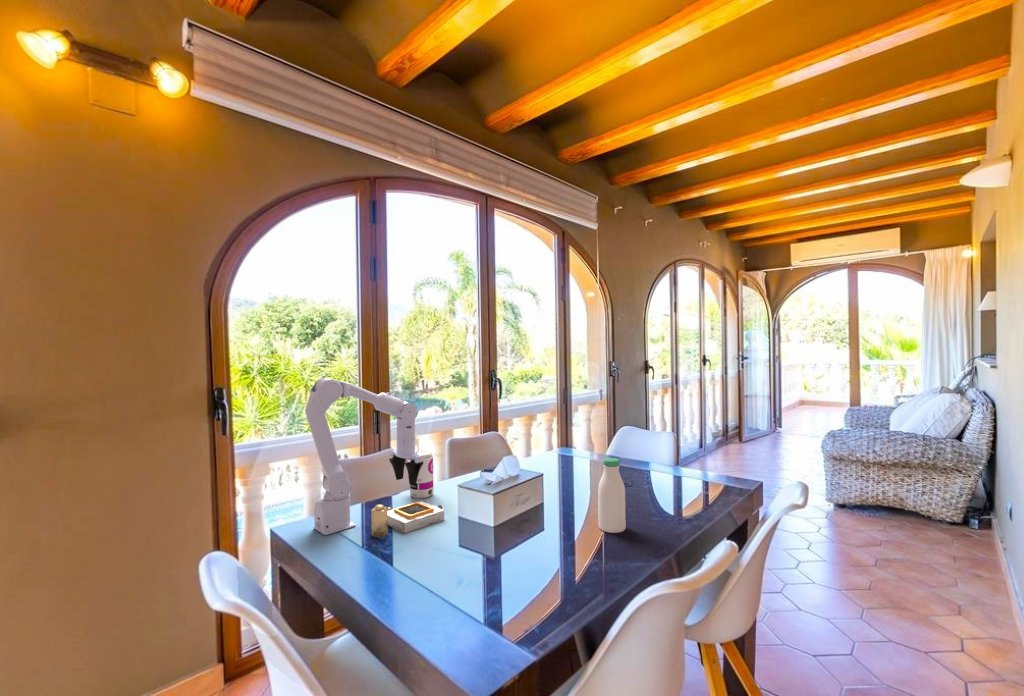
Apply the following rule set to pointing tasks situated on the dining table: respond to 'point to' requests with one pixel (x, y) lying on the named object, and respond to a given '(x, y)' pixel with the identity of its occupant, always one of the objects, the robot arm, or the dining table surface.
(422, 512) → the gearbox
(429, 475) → the supplement can
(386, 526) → the spout can
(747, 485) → the dining table surface
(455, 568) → the dining table surface
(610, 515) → the milk bottle
